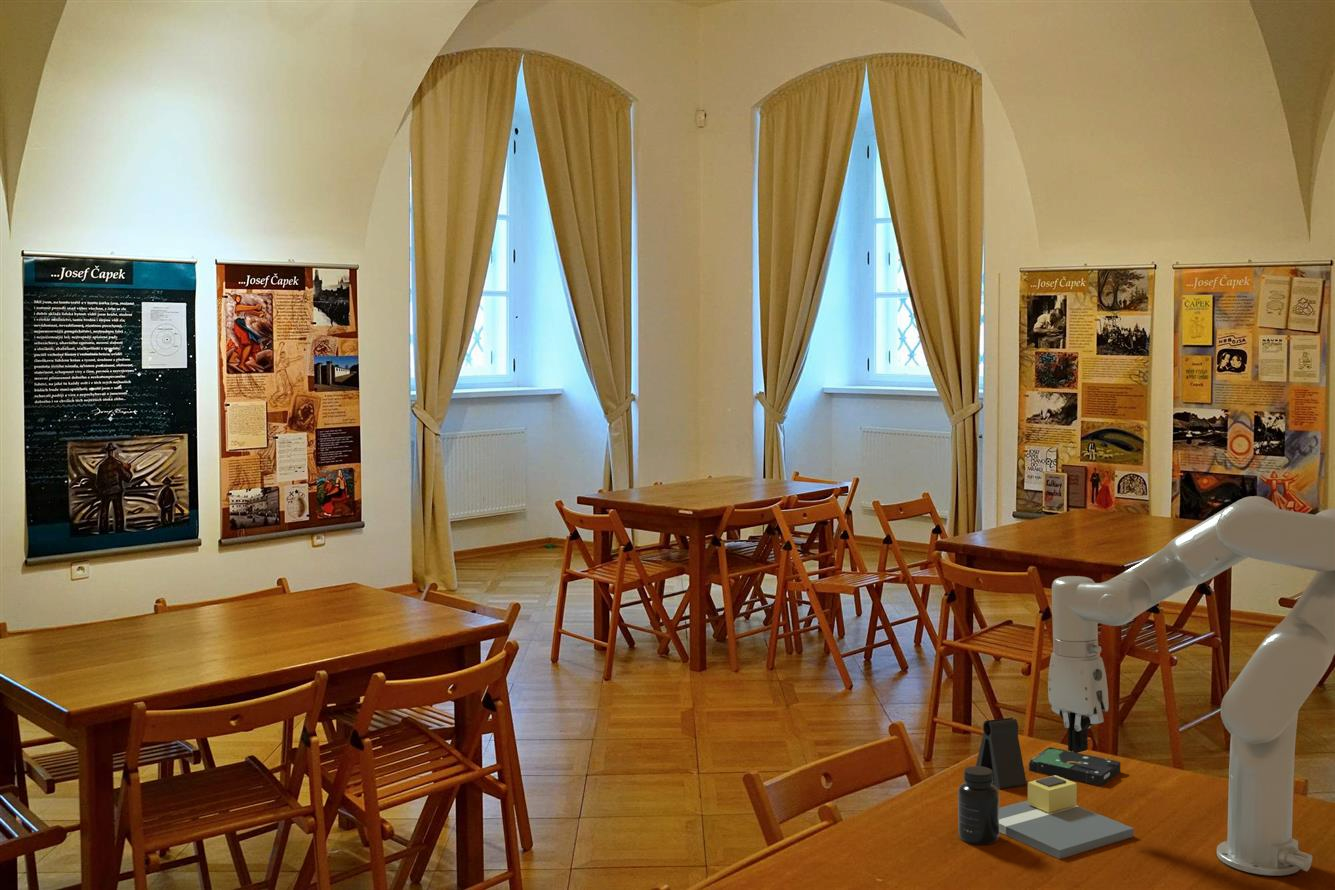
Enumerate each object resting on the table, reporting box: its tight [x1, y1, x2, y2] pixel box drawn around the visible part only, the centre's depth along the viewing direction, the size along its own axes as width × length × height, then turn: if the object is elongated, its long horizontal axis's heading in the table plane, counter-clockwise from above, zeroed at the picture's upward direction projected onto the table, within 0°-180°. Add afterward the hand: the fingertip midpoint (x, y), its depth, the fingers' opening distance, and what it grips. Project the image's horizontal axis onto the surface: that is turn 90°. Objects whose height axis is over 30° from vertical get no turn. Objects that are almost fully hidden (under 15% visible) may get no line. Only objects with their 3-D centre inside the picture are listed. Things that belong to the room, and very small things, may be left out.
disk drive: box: [1028, 746, 1121, 787], centre depth 251 cm, size 10×3×15 cm
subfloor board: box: [999, 799, 1135, 860], centre depth 222 cm, size 19×18×2 cm
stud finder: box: [1027, 775, 1078, 813], centre depth 228 cm, size 5×7×4 cm
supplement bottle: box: [957, 765, 1000, 846], centre depth 218 cm, size 7×7×12 cm
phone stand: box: [975, 717, 1028, 790], centre depth 246 cm, size 9×6×12 cm, turn 18°
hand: (1077, 750), depth 223 cm, fingers closed
